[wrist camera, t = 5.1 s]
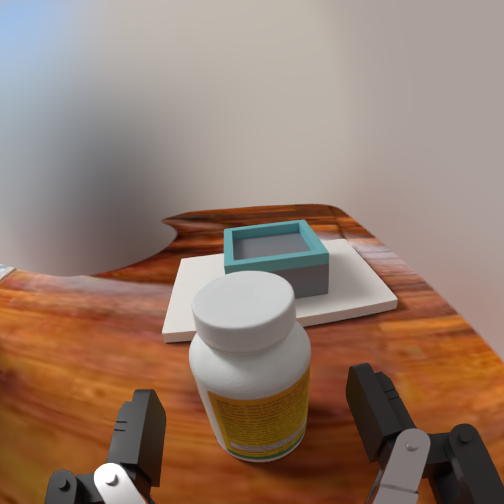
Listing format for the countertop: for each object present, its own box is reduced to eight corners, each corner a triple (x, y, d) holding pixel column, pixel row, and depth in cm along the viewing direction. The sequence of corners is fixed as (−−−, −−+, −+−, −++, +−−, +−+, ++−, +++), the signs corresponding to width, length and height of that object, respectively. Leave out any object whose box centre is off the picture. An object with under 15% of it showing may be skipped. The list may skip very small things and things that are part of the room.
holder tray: (164, 342, 24) (148, 291, 21) (183, 266, 36) (175, 227, 34) (396, 308, 24) (404, 257, 22) (344, 246, 37) (344, 207, 35)
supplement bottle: (199, 423, 16) (152, 294, 12) (266, 381, 19) (251, 252, 15) (254, 482, 12) (223, 365, 8) (326, 426, 15) (340, 290, 11)
